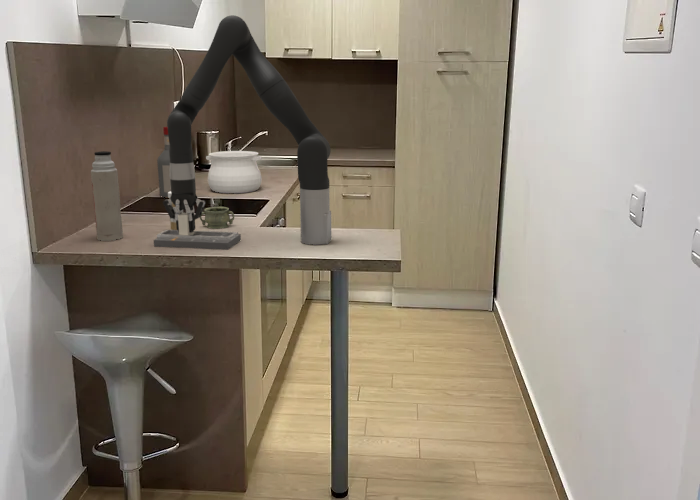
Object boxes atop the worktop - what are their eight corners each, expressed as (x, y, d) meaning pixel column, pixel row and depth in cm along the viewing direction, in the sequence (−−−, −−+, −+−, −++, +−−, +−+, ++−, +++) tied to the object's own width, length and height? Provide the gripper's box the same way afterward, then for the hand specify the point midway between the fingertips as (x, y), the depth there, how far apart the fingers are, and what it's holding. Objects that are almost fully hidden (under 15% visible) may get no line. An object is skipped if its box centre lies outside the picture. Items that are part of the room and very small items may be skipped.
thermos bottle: (93, 241, 219) (84, 153, 212) (102, 235, 227) (94, 150, 220) (117, 241, 219) (110, 153, 212) (126, 235, 227) (119, 150, 220)
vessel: (235, 223, 245) (234, 206, 243) (234, 228, 236) (233, 211, 235) (201, 224, 244) (200, 206, 242) (198, 229, 235) (197, 211, 234)
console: (240, 240, 219) (240, 230, 219) (228, 249, 208) (227, 239, 207) (170, 237, 224) (169, 227, 223) (153, 246, 212) (153, 236, 211)
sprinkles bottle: (171, 229, 235) (168, 190, 232) (185, 229, 236) (182, 190, 232) (169, 232, 231) (166, 192, 228) (183, 232, 231) (180, 192, 228)
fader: (194, 234, 218) (192, 212, 216) (187, 237, 213) (186, 215, 211) (185, 233, 218) (183, 212, 217) (178, 237, 214) (177, 215, 212)
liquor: (186, 197, 298) (182, 127, 290) (166, 199, 292) (161, 128, 285) (177, 194, 305) (173, 126, 297) (158, 196, 299) (153, 126, 292)
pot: (199, 194, 306) (197, 156, 302) (216, 185, 329) (214, 150, 325) (255, 195, 303) (254, 156, 299) (268, 186, 326) (267, 150, 322)
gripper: (208, 175, 214) (211, 230, 218) (166, 175, 216) (170, 228, 220) (199, 179, 206) (202, 235, 211) (155, 178, 209) (159, 233, 213)
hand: (186, 231), depth 216 cm, fingers closed on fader, 3 cm apart
